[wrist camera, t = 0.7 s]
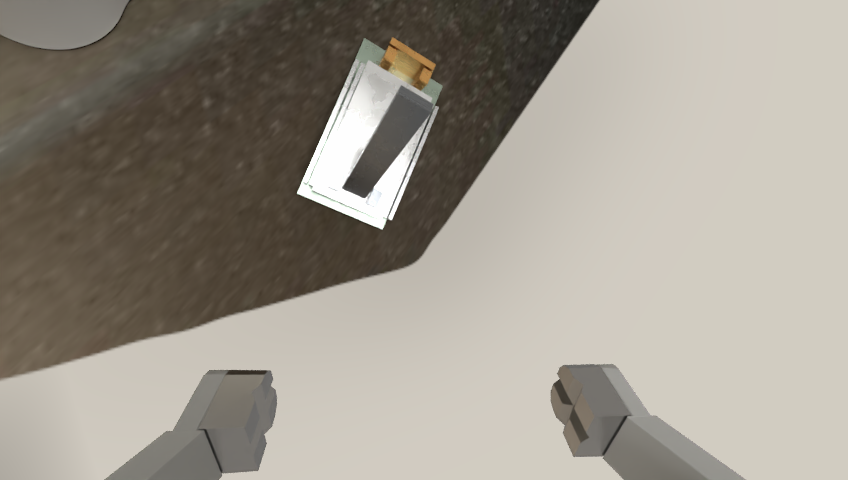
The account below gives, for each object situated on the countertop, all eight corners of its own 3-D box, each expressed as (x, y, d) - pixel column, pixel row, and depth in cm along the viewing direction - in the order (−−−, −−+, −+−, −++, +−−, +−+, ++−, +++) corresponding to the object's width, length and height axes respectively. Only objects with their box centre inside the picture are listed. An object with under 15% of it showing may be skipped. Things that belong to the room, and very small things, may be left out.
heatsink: (380, 228, 50) (392, 232, 43) (297, 193, 46) (295, 191, 39) (438, 89, 51) (460, 70, 44) (362, 43, 47) (372, 13, 40)
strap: (366, 193, 43) (364, 200, 43) (343, 183, 42) (341, 189, 42) (433, 104, 29) (431, 112, 28) (401, 84, 28) (398, 93, 27)
